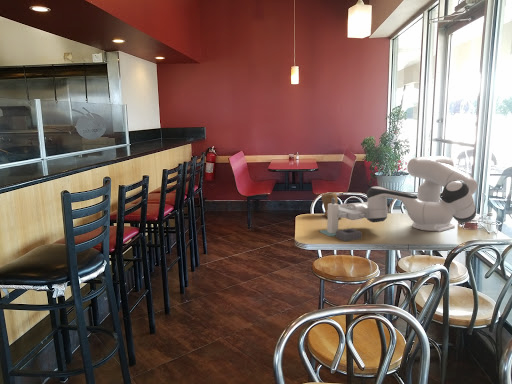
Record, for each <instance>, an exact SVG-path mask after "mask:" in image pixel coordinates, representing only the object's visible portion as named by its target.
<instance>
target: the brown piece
mask: <svg viewBox="0 0 512 384" xmlns="http://www.w3.org/2000/svg"><path fill="white" fill-rule="evenodd" d="M332 198H335V203H336V204H338V194H337V192H334V191H333V192H325V193H321V202H322V204H323V206H324V210H325V211H324V213H323V215H324V216H326V217H327V218H328V214H327V210H328V204H330V203H332ZM339 219H340V218H338V220H339Z"/></svg>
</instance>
